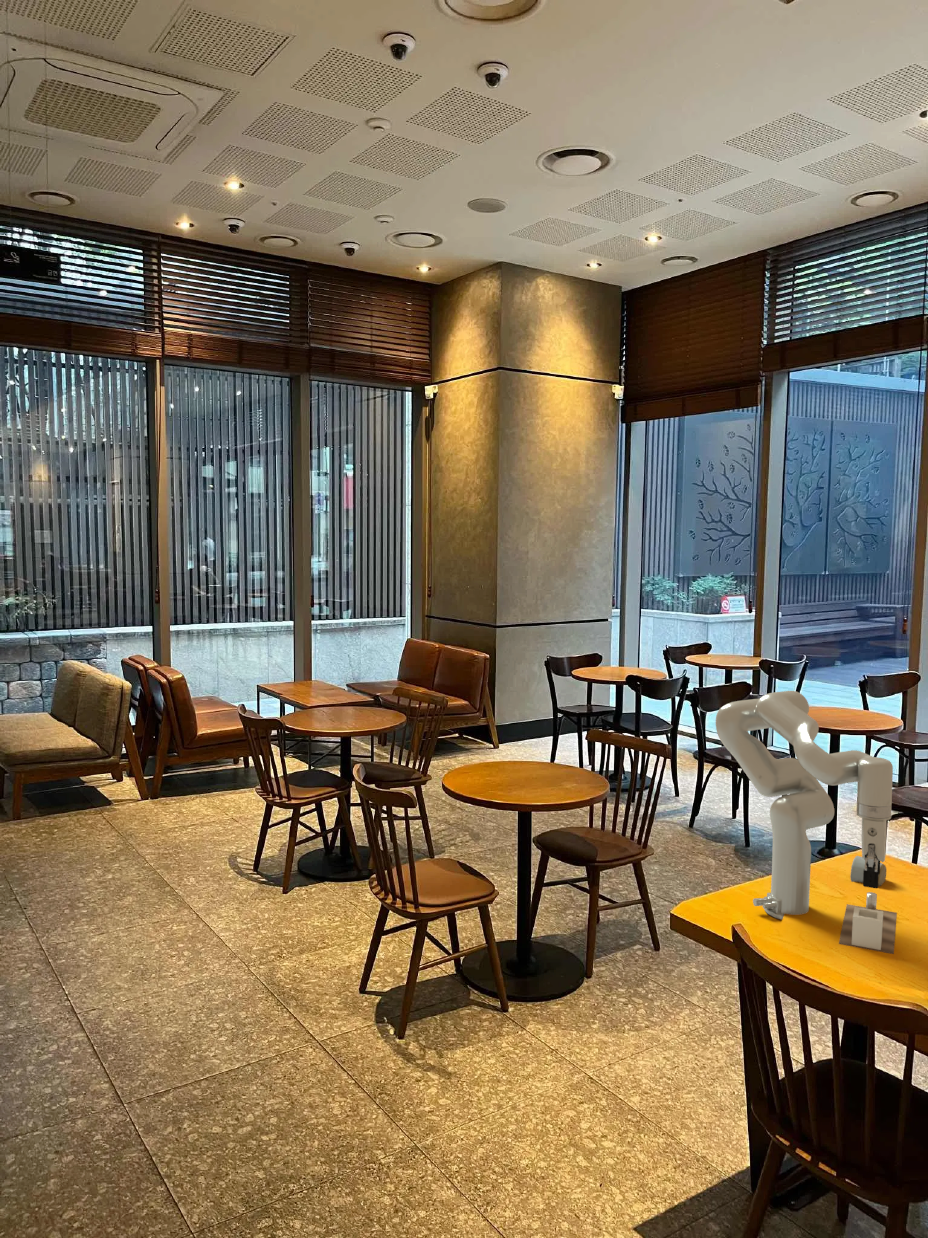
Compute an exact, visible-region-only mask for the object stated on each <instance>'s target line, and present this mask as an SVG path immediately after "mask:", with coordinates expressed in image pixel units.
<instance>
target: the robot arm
mask: <svg viewBox="0 0 928 1238" xmlns="http://www.w3.org/2000/svg"><path fill="white" fill-rule="evenodd" d="M809 711H810V705H809V701H808V700H807V698H806V697H805V696H804V695H803V694H802V693H800V692H798V691H795V690H784V691H776V692H774V691H773V692H769V693H765V694H763V695H762V696H761V697H760V698H753V699H744V700H737V701H736V700H735V701H731V702H729V703H726V704H724V705H723V706H721V707H720V708H719V709H718V711H717V712H716V716H715V730H716V734H717V736H718V738H719V740H720V742H721V743H722V744H723V746H724V747H725V749H726V750H727V751H728V752H729V753H730V754H731V755H732V757H733V758H734V759H735V760H736V762H737V763H738V765H739V766H740V768H741V769H742V771H743V773H745V774H746V776H747V778H748V779H749V781H750V782H751V783H752V785H753V786H754V787H755V789H756V791H757V792H758V793H759V794H760V795H761V796H763V797H765V798H773V797H778V798H776V799H775V800H774V801H773V802H772V803H771V805H770V807H769V818H770V824H771V831H772V853H771V855H772V857H771V858H772V860H771V861H772V862H771V881H770V882H771V884H770V886H771V887H770V892H767V893H766V896H764V897H763V898H760V897H759V898H757V897H756V898H753V899H752V903H753V906H754V907H762V909H764V911H765V912H766V914H768V915H769V916H771V917H773V918H775V919H778V920H784V916H785V914H786V915H795V916H796V915H797V916H798V915H799V916H800V915H804V914H805V915H806V914H807V913H808V912H809V910H810V909H809V907H810V890H811V889H810V887H811V886H810V885H811V884H810V883H811V865H812V864H811V863H812V846H811V842H810V839H809V838H808V836H807V830H810V829H815V828H818V827H822V826H826V825H827V824H829V823H831V821H832V820H833V819H834V816H835V808H834V807H835V806H834V803H833V801H832V798H831V796H830V795H829V794H828V793H827V791H826V790H825V788H824V787H823V786H822V785H821V783H822V784H825V785H826V786H840V785H845V784H849V783H857V789H856V791H857V792H856V794H857V796H856V816H857V817H859V818H861V857H862V858H863V859H864V860H865V869H864V872H863V883H862V886H863V887H864V888H871V889H878V888H879V886H878V875H879V874H880V863H884V862H885V861H886V853H887V852H886V850H887V821H889V820H891V819H892V803H893V802H892V799H893V798H892V797H893V771H894V770H893V769H894V767H893V763H892V762H891V760H889V759H886V758H882V757H875V756H872V755H870V754H868V753H865V752H863V751H861V750H856V749H855V750H853V749H852V750H847V751H846V750H845V751H838V752H833V753H828V752H827V751H825V750H824V749H823V748H821V747H820V746H819V745H818V744H817V743H816V742H815V739H816V737H817V736H818V733H819V729H820V728H819V724H818V722H817V720H816V719H814V718H813V717H812V716H811V715H809ZM764 729H772V730H773V731H775V732H776V733H777V734H778V735H780V736H781V737H782V738H784V739H785V740H786V741H787V742H788V743H789V744H790V745H792V746H793V751H794V754H795V757H796V758H795V757H784V758H779V759H778V758H777V757H774V755H772V754H771V752H770V751H769V749H768V748H767V747H766V746H765V744H764V743H763V742H762V741H761V740H759V739H758V738H757V737H755V736H753V735H751V734H750V733H749V732H752V731H757V730H764ZM820 782H821V783H820Z"/></svg>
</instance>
